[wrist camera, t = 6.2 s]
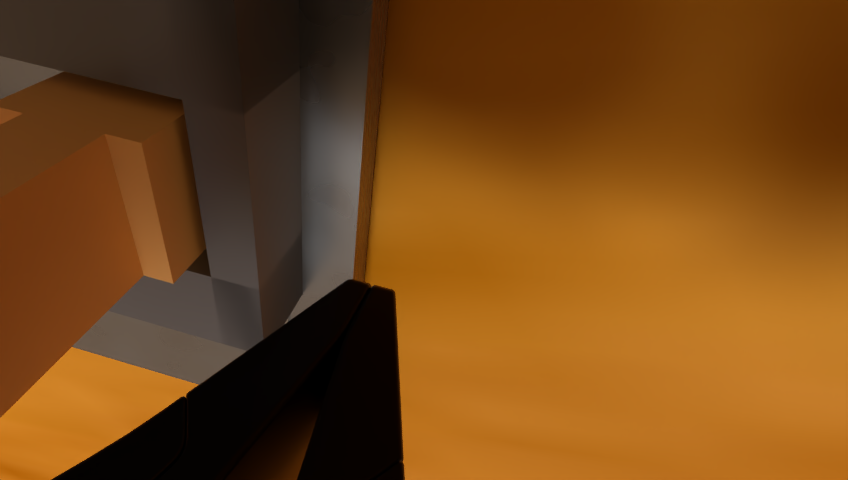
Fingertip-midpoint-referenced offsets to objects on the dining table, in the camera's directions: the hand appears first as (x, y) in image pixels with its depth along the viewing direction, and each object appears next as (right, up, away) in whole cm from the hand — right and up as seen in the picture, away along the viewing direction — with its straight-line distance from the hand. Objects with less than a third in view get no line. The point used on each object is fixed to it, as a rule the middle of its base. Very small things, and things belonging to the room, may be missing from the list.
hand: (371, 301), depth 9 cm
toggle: (-5, +4, +3) cm, 7 cm away
